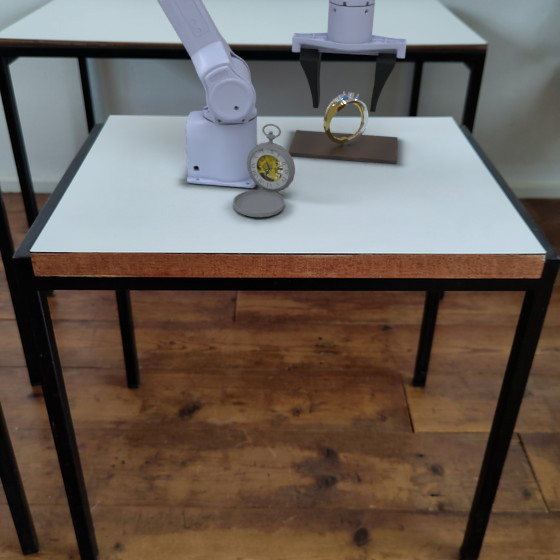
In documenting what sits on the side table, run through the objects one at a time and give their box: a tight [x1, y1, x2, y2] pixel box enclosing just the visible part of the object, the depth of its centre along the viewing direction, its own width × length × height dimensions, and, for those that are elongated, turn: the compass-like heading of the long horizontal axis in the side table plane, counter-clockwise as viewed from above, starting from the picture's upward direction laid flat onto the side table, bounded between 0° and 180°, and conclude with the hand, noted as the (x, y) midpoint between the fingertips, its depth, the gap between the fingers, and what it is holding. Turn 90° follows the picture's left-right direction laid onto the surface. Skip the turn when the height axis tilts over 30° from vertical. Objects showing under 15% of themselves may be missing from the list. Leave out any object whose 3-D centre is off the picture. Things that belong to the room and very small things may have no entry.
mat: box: [288, 129, 398, 165], centre depth 106 cm, size 16×9×1 cm, turn 82°
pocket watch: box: [232, 123, 296, 218], centre depth 87 cm, size 8×8×10 cm
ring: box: [322, 90, 369, 145], centre depth 104 cm, size 7×3×8 cm, turn 105°
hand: (344, 107), depth 94 cm, fingers open, 7 cm apart
